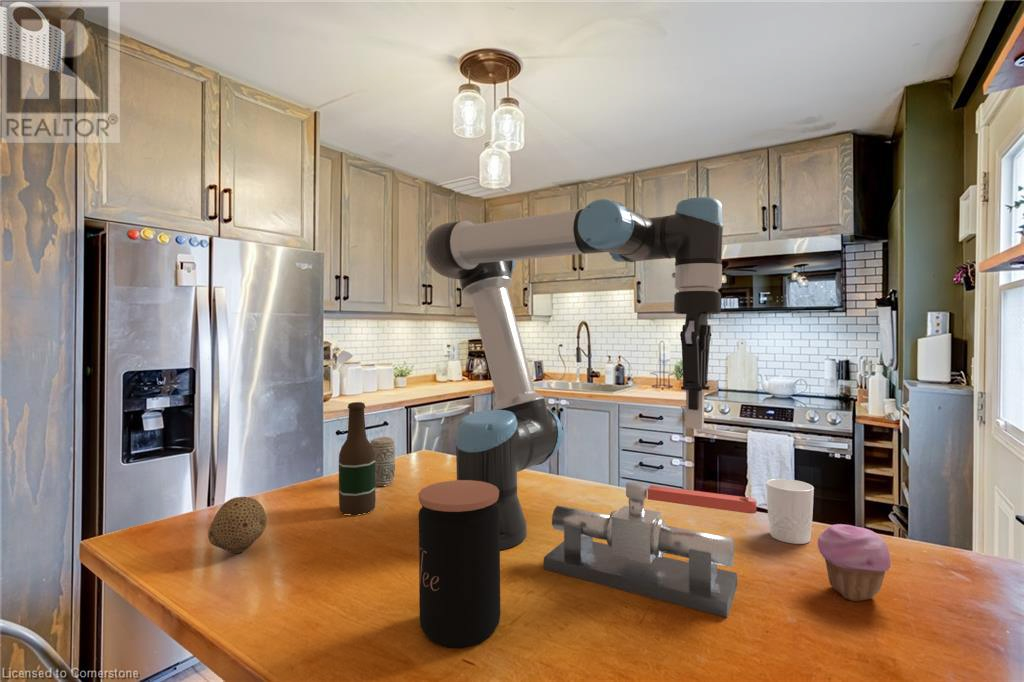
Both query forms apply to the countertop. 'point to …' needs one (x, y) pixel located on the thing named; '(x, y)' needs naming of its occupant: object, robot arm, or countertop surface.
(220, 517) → the natural sponge
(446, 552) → the coffee jar
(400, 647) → the countertop surface
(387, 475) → the carving
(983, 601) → the countertop surface
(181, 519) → the countertop surface
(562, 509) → the valve stand
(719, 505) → the valve lever
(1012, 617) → the countertop surface
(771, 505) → the white cup
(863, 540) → the cupcake
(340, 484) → the beer bottle
